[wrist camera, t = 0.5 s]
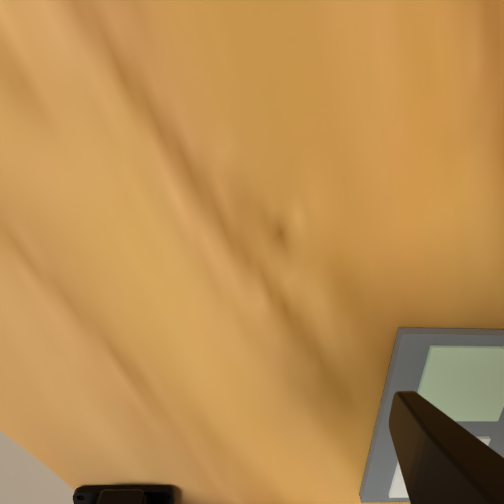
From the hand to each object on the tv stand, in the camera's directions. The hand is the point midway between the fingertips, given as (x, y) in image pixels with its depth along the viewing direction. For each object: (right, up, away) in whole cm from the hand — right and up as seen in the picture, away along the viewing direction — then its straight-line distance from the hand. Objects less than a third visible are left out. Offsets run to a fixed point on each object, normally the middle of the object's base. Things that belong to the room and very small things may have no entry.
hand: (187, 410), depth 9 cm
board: (+14, -7, +18) cm, 24 cm away
